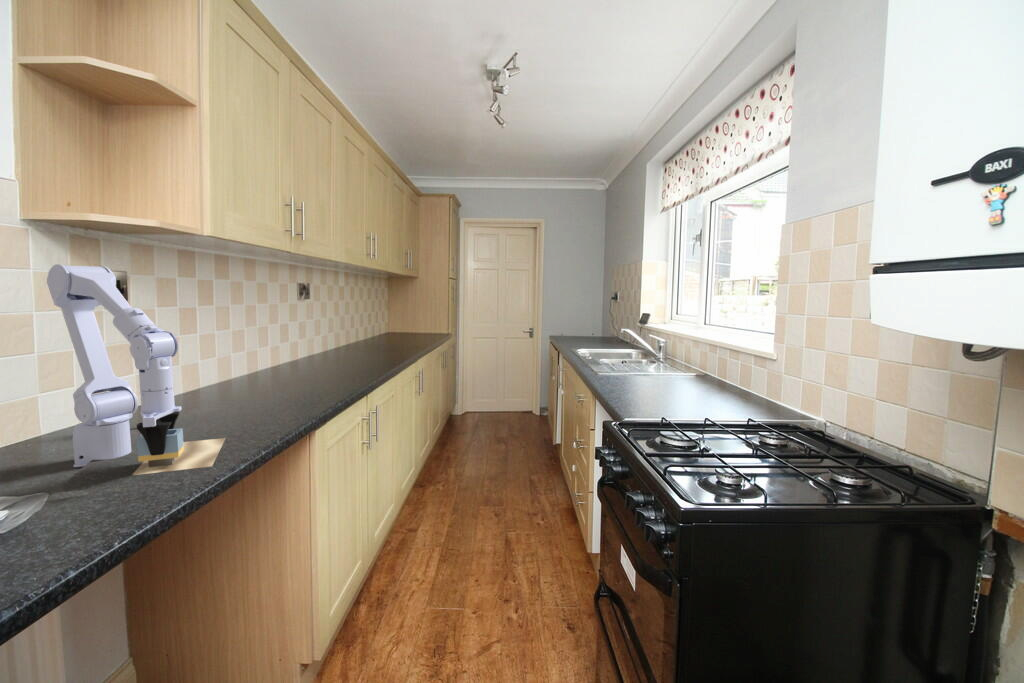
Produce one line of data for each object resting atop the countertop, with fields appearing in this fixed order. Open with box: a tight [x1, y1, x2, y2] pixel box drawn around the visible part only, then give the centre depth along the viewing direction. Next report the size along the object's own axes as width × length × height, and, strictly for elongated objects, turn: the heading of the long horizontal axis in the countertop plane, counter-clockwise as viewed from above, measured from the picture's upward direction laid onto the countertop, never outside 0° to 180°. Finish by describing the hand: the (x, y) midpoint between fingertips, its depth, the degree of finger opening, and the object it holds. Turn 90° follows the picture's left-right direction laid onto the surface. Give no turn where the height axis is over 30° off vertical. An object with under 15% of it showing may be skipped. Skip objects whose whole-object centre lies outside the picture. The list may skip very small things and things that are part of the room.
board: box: [131, 437, 226, 476], centre depth 107 cm, size 14×20×5 cm
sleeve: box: [136, 427, 184, 463], centre depth 101 cm, size 5×7×5 cm
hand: (161, 450), depth 101 cm, fingers closed on sleeve, 5 cm apart
